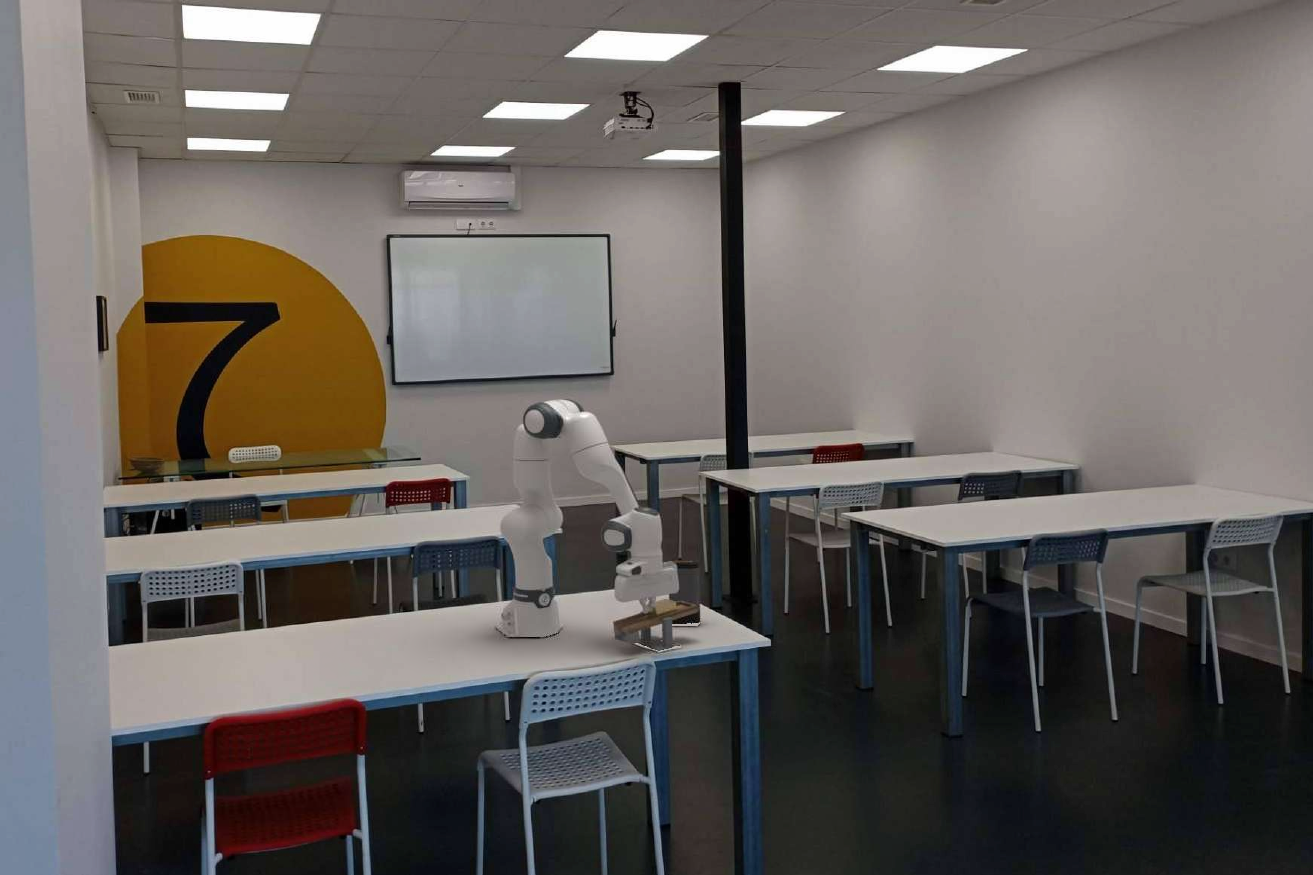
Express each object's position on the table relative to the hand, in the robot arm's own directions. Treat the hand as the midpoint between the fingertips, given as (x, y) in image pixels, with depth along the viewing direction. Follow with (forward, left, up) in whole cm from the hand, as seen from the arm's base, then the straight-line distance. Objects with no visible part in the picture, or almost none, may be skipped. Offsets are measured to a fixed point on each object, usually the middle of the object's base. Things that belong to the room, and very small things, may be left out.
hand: (647, 612), depth 320 cm
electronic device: (-14, +24, -10) cm, 30 cm away
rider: (0, +5, -1) cm, 5 cm away
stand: (0, +3, -10) cm, 11 cm away
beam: (0, +3, -6) cm, 6 cm away
